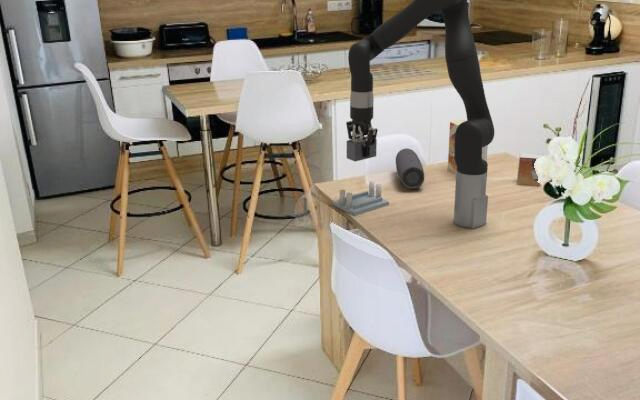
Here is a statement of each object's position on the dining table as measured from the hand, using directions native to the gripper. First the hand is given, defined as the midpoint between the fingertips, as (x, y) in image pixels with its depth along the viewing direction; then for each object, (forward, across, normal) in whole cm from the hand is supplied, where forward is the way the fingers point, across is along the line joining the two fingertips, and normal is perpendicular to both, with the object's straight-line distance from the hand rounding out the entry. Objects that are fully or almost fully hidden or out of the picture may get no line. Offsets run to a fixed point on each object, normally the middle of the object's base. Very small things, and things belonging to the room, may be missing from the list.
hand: (361, 154), depth 213 cm
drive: (+1, 0, 0) cm, 1 cm away
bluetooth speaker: (+18, +7, -28) cm, 34 cm away
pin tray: (+18, 0, 0) cm, 18 cm away
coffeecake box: (+18, -1, -51) cm, 54 cm away
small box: (+18, -22, -61) cm, 67 cm away
